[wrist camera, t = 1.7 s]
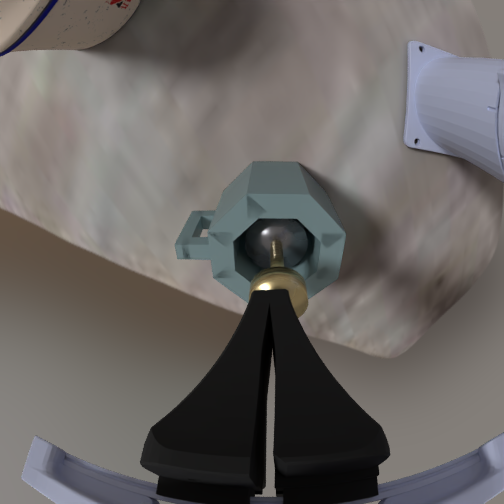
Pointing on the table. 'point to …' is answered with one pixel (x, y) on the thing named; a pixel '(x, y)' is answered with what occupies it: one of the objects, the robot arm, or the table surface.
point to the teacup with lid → (60, 23)
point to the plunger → (278, 257)
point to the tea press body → (266, 206)
